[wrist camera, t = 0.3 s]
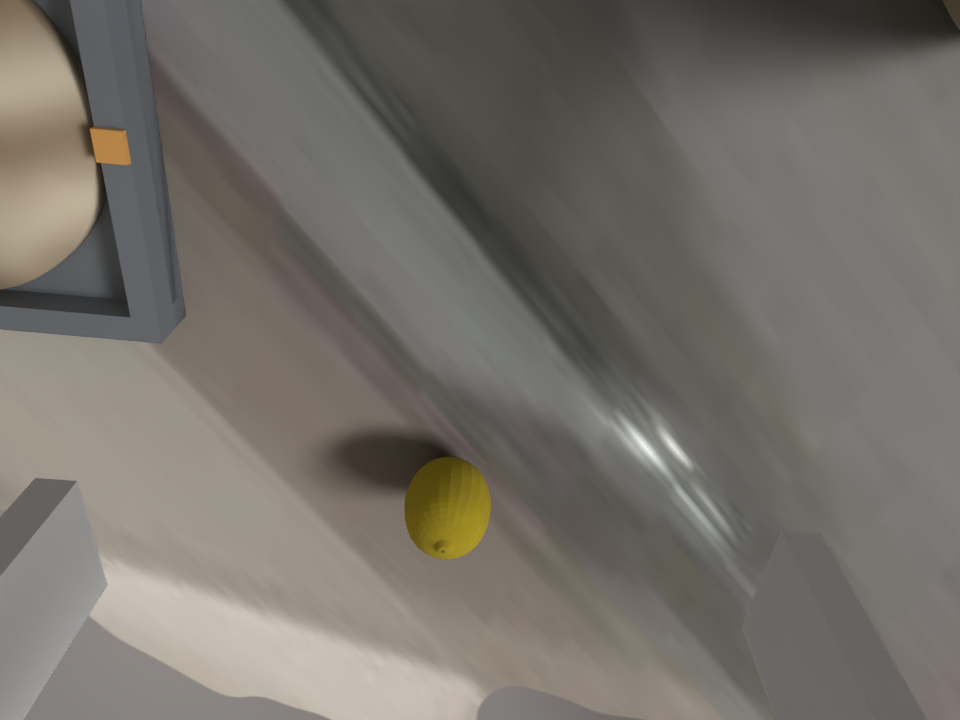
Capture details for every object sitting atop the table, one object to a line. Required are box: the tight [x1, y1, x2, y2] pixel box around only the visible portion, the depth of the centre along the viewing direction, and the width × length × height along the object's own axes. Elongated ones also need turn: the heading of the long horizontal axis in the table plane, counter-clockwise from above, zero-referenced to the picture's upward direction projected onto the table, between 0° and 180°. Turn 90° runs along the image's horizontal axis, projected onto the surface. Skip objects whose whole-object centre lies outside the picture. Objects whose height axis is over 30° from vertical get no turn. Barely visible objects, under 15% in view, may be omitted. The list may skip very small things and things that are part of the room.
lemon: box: [405, 457, 491, 559], centre depth 44 cm, size 6×6×8 cm
